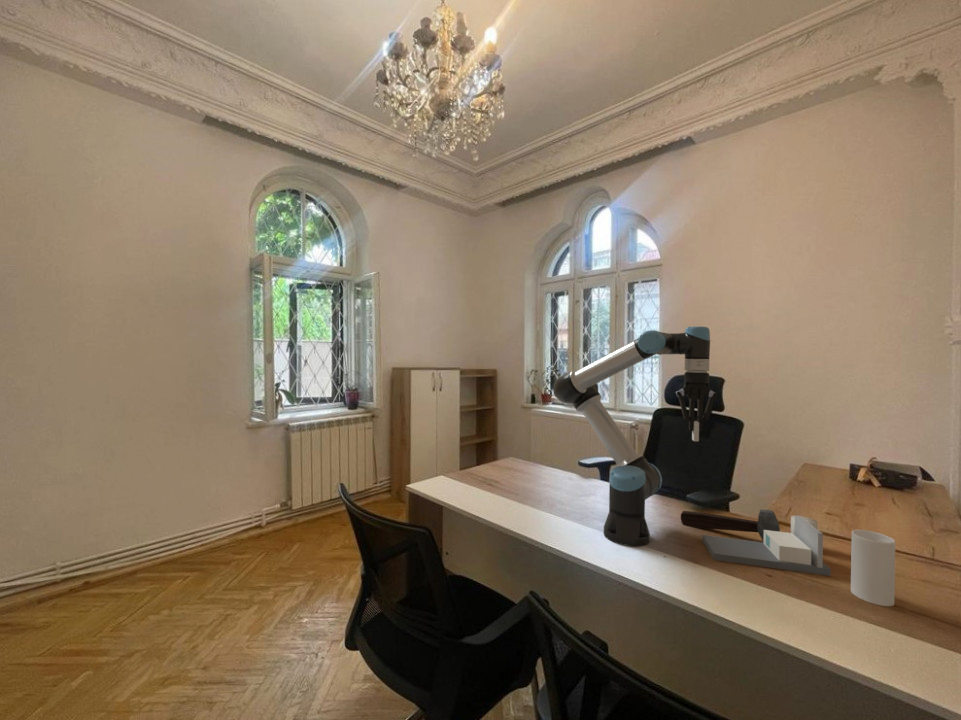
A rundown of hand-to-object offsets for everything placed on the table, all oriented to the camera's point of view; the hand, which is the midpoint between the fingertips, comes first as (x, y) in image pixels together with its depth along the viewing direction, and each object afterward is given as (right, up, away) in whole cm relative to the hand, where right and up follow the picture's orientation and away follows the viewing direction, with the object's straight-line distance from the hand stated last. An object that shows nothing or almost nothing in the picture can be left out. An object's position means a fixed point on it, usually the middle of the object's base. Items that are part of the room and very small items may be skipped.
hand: (695, 440), depth 137 cm
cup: (+30, -35, -32) cm, 56 cm away
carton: (+21, -33, -13) cm, 41 cm away
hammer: (+15, -35, +6) cm, 38 cm away
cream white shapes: (+35, -35, -3) cm, 50 cm away
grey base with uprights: (+15, -35, -11) cm, 39 cm away
